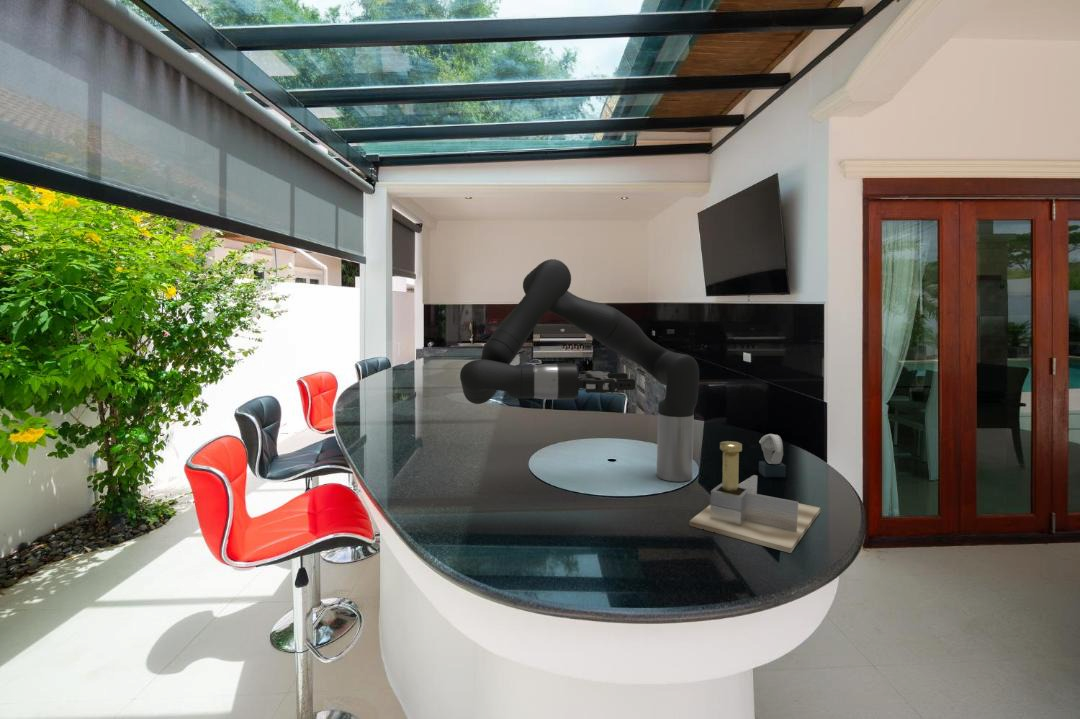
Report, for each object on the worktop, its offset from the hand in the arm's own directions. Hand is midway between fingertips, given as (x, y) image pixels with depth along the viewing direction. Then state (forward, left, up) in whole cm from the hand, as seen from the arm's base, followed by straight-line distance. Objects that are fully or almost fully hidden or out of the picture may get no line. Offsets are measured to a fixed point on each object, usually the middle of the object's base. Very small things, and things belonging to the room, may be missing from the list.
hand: (631, 381), depth 115 cm
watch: (-49, +17, -30) cm, 60 cm away
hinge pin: (-11, +18, -29) cm, 36 cm away
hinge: (-16, +23, -29) cm, 40 cm away
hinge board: (-16, +23, -30) cm, 41 cm away
